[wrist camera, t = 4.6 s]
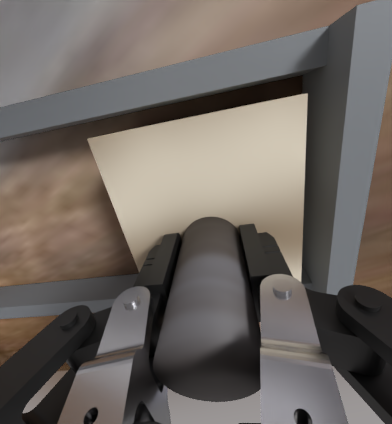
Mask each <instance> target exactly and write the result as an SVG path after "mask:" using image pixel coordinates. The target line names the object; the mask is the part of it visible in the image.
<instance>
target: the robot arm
mask: <svg viewBox="0 0 392 424" xmlns="http://www.w3.org/2000/svg"><path fill="white" fill-rule="evenodd" d="M239 231H240V238H241V243H242V248H243V253H244V257H245V262H246V267H247V272H248V276H249V281H250V286H251V291H252V295H253V299H254V303H255V308H256V313H257V318H258V322H261V344H260V384H261V423H239V424H348V421H347V417H346V414H345V410H344V407H343V403H342V400H341V396H340V393H339V390H338V386H337V382H336V379H335V375H334V372H333V368H332V366H334V367H335V368H336V370H337V371H338V372H339V373H340V374H341V375H342V376H343V377H344V379H345V380H346V381H347V382H348V383H349V384H350V385H351V386H352V388H353V389H354V390H355V391H356V392H357V393H358V394H359V395H360V396H361V397H362V399H363V400H364V401H365V402H366V403H367V404H368V405H369V406H370V408H371V409H372V410H373V411H374V412H375V413H376V414H377V415H378V416H379V418H380V419H381V420H382V421H383V422H384V423H385V424H392V298H391V297H389V296H387V295H386V294H384V293H382V292H380V291H378V290H376V289H373V288H370V287H367V286H362V285H349V286H345V287H343V288H342V289H340V290H339V292H338V294H337V295H333V294H327V293H321V292H316V291H312V290H310V289H307V288H305V287H304V285H303V284H302V283H301V282H300V281H299V280H297V279H296V278H294V277H293V276H292V274H291V271H290V269H289V267H288V265H287V263H286V261H285V259H284V257H283V255H282V253H281V251H280V248H279V246H278V244H277V242H276V240H275V238H274V237H273V236H272V235H270V234H269V233H268V232H263V233H257V230H256V227H255V224H254V223H253V224H245V225H239ZM181 244H182V239H181V236H180V234H179V233H172V234H165V235H164V236H163V239H162V242H161V244H160V245H155V246H154V247H153V248H152V249H151V250H150V251H149V253H148V255H147V257H146V260H145V261H144V264H143V266H142V268H141V270H140V272H139V275H138V277H137V279H136V281H135V283H134V285H133V287H132V288H130V289H127V290H126V291H124V292H123V293H121V294H120V295H119V296H118V297H117V298H116V300H115V301H114V303H113V306H112V307H110V308H107V309H104V310H101V311H98V312H96V313H93V314H92V312H91V310H90V309H89V307H88V306H85V305H78V306H75V307H72V308H70V309H68V310H66V311H65V312H63V313H62V314H61V315H59V316H58V317H57V318H56V319H55V320H53V321H52V322H51V323H50V324H49V325H48V326H47V327H45V328H44V329H43V330H42V331H41V332H40V333H38V334H37V335H36V336H35V337H34V338H33V339H32V340H30V341H29V342H28V343H27V344H26V345H25V346H23V347H22V348H21V349H20V350H19V351H18V352H17V353H15V354H14V355H13V356H12V357H11V358H10V359H8V360H7V361H6V362H5V363H4V364H3V365H2V366H0V424H171V419H170V411H169V406H168V396H167V389H168V387H166V386H165V385H164V384H163V383H162V382H160V380H159V379H158V378H157V376H156V375H155V372H154V370H153V360H154V356H155V351H156V347H157V343H158V339H159V335H160V331H161V327H162V322H163V318H164V314H165V310H166V306H167V302H168V298H169V293H170V289H171V285H172V281H173V277H174V273H175V269H176V265H177V260H178V256H179V252H180V248H181ZM65 362H67V364H68V365H69V366H70V370H69V371H68V372H67V373H66V374H65V375H64V376H63V377H62V379H61V380H60V381H59V382H58V383H57V384H56V385H55V387H54V388H53V389H52V390H51V391H50V392H49V393H48V394H47V395H46V397H45V398H44V399H43V400H42V401H41V402H40V403H39V404H38V405H37V407H35V408H34V409H33V410H32V411H30V412H28V413H24V414H23V413H22V412H23V410H24V408H25V406H26V404H27V403H28V402H29V400H30V399H31V398H32V397H33V396H34V395H35V394H36V393H37V392H38V390H40V389H41V387H42V386H43V385H44V384H45V383H46V382H47V381H48V380H49V379H50V378H51V377H52V376H53V375H54V373H56V371H57V370H58V369H59V368H60V367H61V366H62V365H63V364H64V363H65Z"/></svg>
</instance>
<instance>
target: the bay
mask: <svg viewBox="0 0 392 424" xmlns="http://www.w3.org/2000/svg"><path fill="white" fill-rule="evenodd" d="M391 63H392V0H376V1H372V2H368V3H364V4H360V5H357V6H355V7H354V8H353V9H351V10H350V11H349V12H347V13H346V14H345V15H343V16H342V17H341V18H339V19H338V20H336V21H335V22H334V23H332V24H331V25H330V26H326V27H322V28H318V29H314V30H310V31H306V32H302V33H298V34H294V35H290V36H286V37H282V38H278V39H274V40H270V41H266V42H262V43H258V44H254V45H250V46H246V47H242V48H238V49H234V50H230V51H226V52H222V53H218V54H214V55H210V56H206V57H202V58H198V59H193V60H189V61H185V62H181V63H177V64H173V65H169V66H165V67H161V68H157V69H153V70H149V71H145V72H141V73H137V74H133V75H129V76H125V77H121V78H117V79H113V80H109V81H105V82H101V83H97V84H93V85H89V86H85V87H81V88H77V89H73V90H69V91H65V92H61V93H57V94H53V95H49V96H45V97H41V98H37V99H33V100H29V101H25V102H21V103H17V104H13V105H9V106H5V107H0V141H5V140H9V139H14V138H18V137H23V136H28V135H32V134H37V133H41V132H46V131H50V130H55V129H59V128H64V127H69V126H73V125H78V124H82V123H87V122H91V121H96V120H100V119H105V118H109V117H114V116H119V115H123V114H128V113H132V112H137V111H141V110H146V109H150V108H155V107H160V106H164V105H169V104H173V103H178V102H182V101H187V100H191V99H196V98H200V97H205V96H210V95H214V94H219V93H223V92H228V91H232V90H237V89H241V88H246V87H250V86H255V85H260V84H264V83H269V82H273V81H278V80H282V79H287V78H291V77H296V76H301V75H303V84H302V94H306V93H308V101H307V130H306V158H305V187H304V215H303V244H302V272H301V283H302V284H303V285H304V287H305V288H307V289H310V290H312V291H316V292H321V293H327V294H333V295H337V294H338V292H339V290H340V289H342V288H343V287H345V286H349V285H353V281H354V275H355V269H356V264H357V258H358V252H359V246H360V241H361V235H362V229H363V224H364V218H365V212H366V206H367V201H368V195H369V189H370V183H371V178H372V172H373V166H374V161H375V155H376V149H377V143H378V138H379V132H380V126H381V121H382V115H383V109H384V103H385V98H386V92H387V86H388V80H389V75H390V69H391ZM138 275H139V274H130V275H119V276H109V277H98V278H88V279H78V280H67V281H57V282H46V283H36V284H26V285H15V286H5V287H0V319H8V318H22V317H37V316H51V315H61V314H62V313H63V312H65V311H66V310H68V309H70V308H72V307H75V306H78V305H85V306H88V307H89V309H90V310H91V312H92V313H95V312H98V311H101V310H104V309H107V308H110V307H112V306H113V303H114V301H115V300H116V298H117V297H118V296H119V295H120V294H121V293H123V292H124V291H126V290H127V289H130V288H132V287H133V285H134V283H135V281H136V279H137V277H138Z"/></svg>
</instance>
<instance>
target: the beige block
mask: <svg viewBox="0 0 392 424" xmlns="http://www.w3.org/2000/svg"><path fill="white" fill-rule="evenodd" d="M307 101H308V93H306V94H300V95H295V96H290V97H285V98H279V99H274V100H269V101H264V102H259V103H254V104H250V105H245V106H240V107H235V108H230V109H225V110H221V111H216V112H211V113H206V114H201V115H197V116H192V117H187V118H182V119H177V120H172V121H168V122H163V123H158V124H153V125H148V126H143V127H139V128H134V129H129V130H125V131H120V132H116V133H111V134H106V135H102V136H97V137H93V138H88V139H87V140H88V143H89V145H90V148H91V151H92V153H93V156H94V158H95V161H96V163H97V166H98V169H99V171H100V174H101V176H102V179H103V181H104V184H105V186H106V189H107V192H108V194H109V197H110V199H111V202H112V204H113V207H114V210H115V212H116V215H117V217H118V220H119V222H120V225H121V228H122V230H123V233H124V235H125V238H126V240H127V243H128V245H129V248H130V251H131V253H132V256H133V258H134V261H135V263H136V266H137V269H138V271H139V272H140V270H141V268H142V266H143V264H144V261H145V260H146V257H147V255H148V253H149V251H150V250H151V249H152V248H153V247H154V246H155V245H160V244H161V242H162V239H163V236H164V235H165V234H172V233H179V234H180V236H181V239H182V244H181V248H180V252H179V256H178V260H177V265H176V269H175V273H174V277H173V281H172V285H171V289H170V293H169V298H168V302H167V306H166V310H165V314H164V318H163V322H162V327H161V331H160V335H159V339H158V343H157V347H156V351H155V356H154V360H153V370H154V372H155V375H156V376H157V378H158V379H159V380H160V382H162V383H163V384H164V385H165V386H166V387H168V388H169V389H171V390H172V391H174V392H176V393H179V394H180V395H183V396H186V397H189V398H192V399H197V400H203V401H211V402H225V401H233V400H237V399H242V398H245V397H248V396H250V395H252V394H254V393H256V392H257V391H259V390H260V389H261V384H260V344H261V332H260V327H259V322H258V318H257V313H256V308H255V303H254V299H253V295H252V291H251V286H250V281H249V276H248V272H247V267H246V262H245V257H244V253H243V248H242V243H241V238H240V231H239V225H245V224H253V223H254V224H255V227H256V230H257V233H263V232H268V233H269V234H270V235H272V236H273V237H274V238H275V240H276V242H277V244H278V246H279V248H280V251H281V253H282V255H283V257H284V259H285V261H286V263H287V265H288V267H289V269H290V271H291V274H292V276H293V277H294V278H296V279H297V280H299V281H300V282H301V272H302V244H303V215H304V187H305V158H306V130H307Z"/></svg>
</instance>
